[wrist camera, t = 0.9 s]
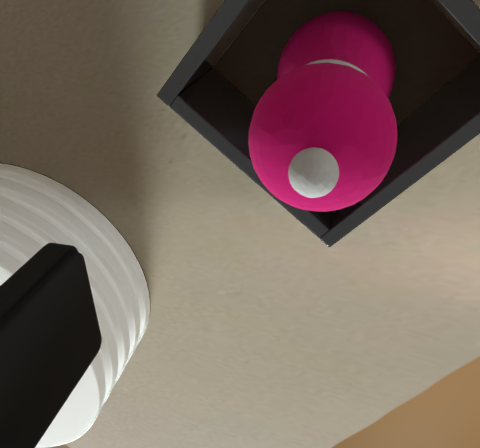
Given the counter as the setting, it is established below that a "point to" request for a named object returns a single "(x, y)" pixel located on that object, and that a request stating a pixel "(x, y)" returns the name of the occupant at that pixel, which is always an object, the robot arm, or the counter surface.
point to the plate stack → (99, 273)
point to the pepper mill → (327, 115)
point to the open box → (241, 108)
